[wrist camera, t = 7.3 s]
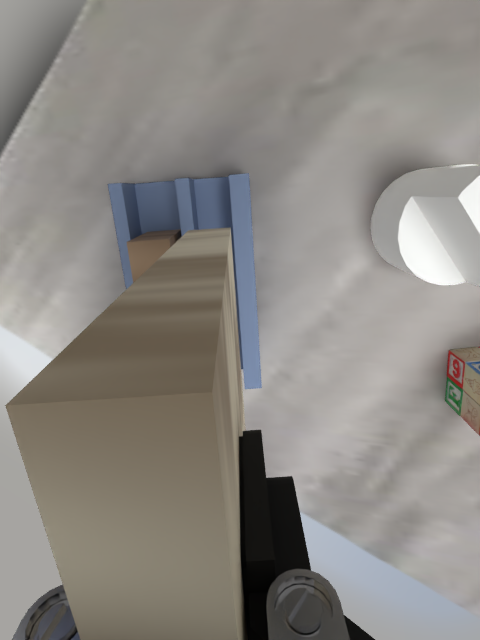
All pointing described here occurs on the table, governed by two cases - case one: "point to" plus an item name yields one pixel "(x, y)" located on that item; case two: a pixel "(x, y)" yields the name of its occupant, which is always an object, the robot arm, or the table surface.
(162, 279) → the birch sheet
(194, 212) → the rack
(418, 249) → the base with upright slab
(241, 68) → the table surface
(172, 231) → the walnut offcut
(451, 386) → the stack of blocks
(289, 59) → the table surface
